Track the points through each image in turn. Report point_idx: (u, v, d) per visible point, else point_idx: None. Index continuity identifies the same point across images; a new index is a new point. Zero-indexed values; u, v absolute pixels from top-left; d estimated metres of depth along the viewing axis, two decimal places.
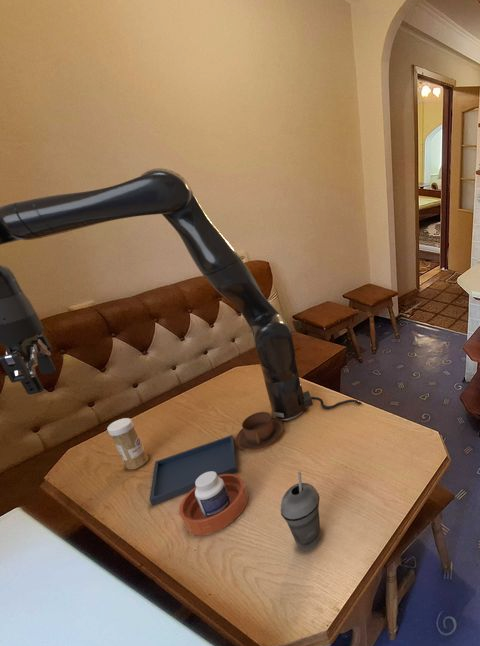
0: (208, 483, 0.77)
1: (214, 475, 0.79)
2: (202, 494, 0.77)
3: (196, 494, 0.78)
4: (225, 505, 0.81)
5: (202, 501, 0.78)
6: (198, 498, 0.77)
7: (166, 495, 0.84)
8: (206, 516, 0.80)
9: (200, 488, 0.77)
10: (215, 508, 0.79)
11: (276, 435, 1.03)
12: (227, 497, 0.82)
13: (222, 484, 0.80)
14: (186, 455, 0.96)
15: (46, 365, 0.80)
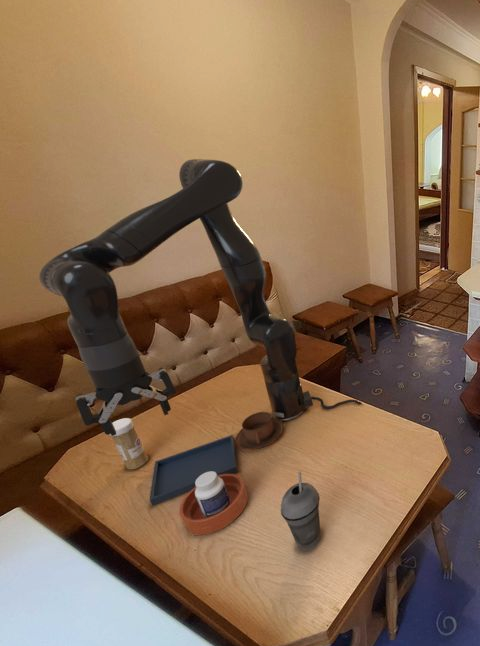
0: (208, 483, 0.77)
1: (214, 475, 0.79)
2: (202, 494, 0.77)
3: (196, 494, 0.78)
4: (225, 505, 0.81)
5: (202, 501, 0.78)
6: (198, 498, 0.77)
7: (166, 495, 0.84)
8: (206, 516, 0.80)
9: (200, 488, 0.77)
10: (215, 508, 0.79)
11: (276, 435, 1.03)
12: (227, 497, 0.82)
13: (222, 484, 0.80)
14: (186, 455, 0.96)
15: (161, 406, 0.78)
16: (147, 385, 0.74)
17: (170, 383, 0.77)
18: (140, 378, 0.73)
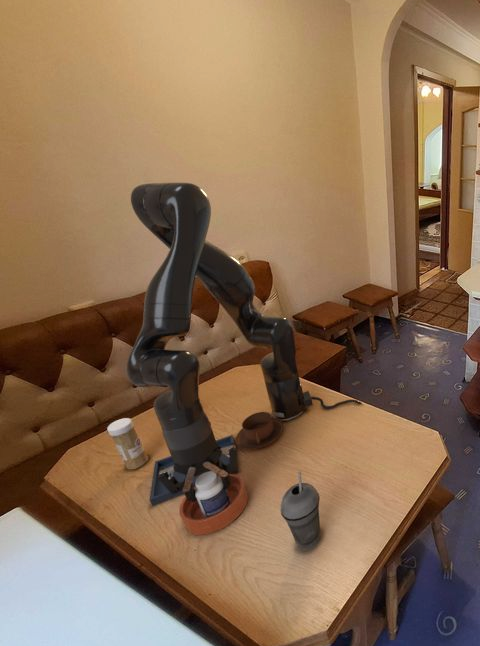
0: (208, 483, 0.77)
1: (214, 475, 0.79)
2: (202, 494, 0.77)
3: (196, 494, 0.78)
4: (225, 505, 0.81)
5: (202, 501, 0.78)
6: (198, 498, 0.77)
7: (166, 495, 0.84)
8: (206, 516, 0.80)
9: (200, 488, 0.77)
10: (215, 508, 0.79)
11: (276, 435, 1.03)
12: (227, 497, 0.82)
13: (222, 484, 0.80)
14: None
15: None
16: (217, 460, 0.78)
17: (235, 460, 0.80)
18: (211, 453, 0.76)
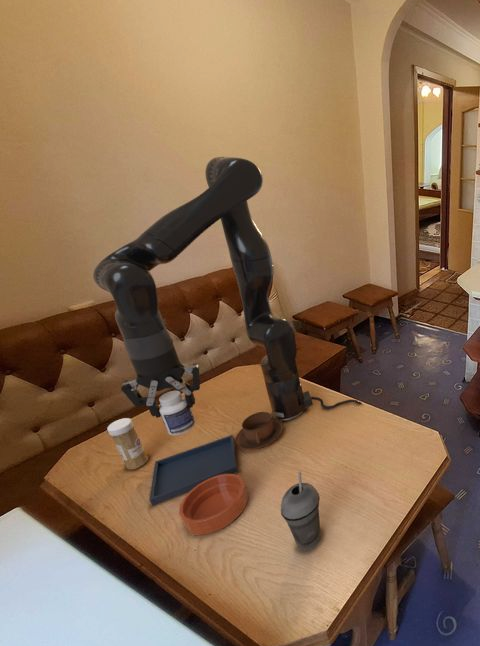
0: (172, 399, 0.81)
1: (178, 393, 0.83)
2: (166, 409, 0.81)
3: (160, 410, 0.81)
4: (189, 424, 0.85)
5: (166, 416, 0.81)
6: (162, 413, 0.81)
7: (166, 495, 0.84)
8: (170, 433, 0.83)
9: (163, 403, 0.81)
10: (179, 425, 0.83)
11: (276, 435, 1.03)
12: (191, 417, 0.86)
13: (186, 403, 0.84)
14: (186, 455, 0.96)
15: None
16: (180, 377, 0.81)
17: (197, 379, 0.83)
18: (174, 369, 0.80)
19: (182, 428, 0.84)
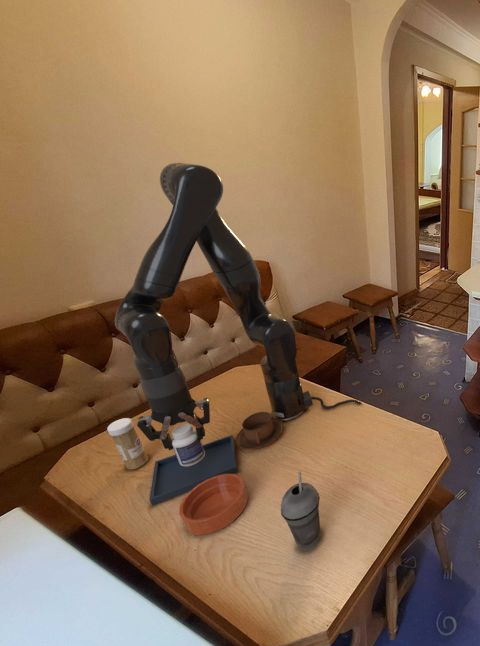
0: (183, 432, 0.86)
1: (189, 426, 0.88)
2: (178, 442, 0.86)
3: (172, 443, 0.86)
4: (199, 455, 0.90)
5: (178, 449, 0.86)
6: (174, 446, 0.86)
7: (166, 495, 0.84)
8: (182, 464, 0.88)
9: (176, 437, 0.85)
10: (190, 456, 0.88)
11: (276, 435, 1.03)
12: (201, 448, 0.91)
13: (197, 435, 0.89)
14: None
15: None
16: (191, 412, 0.86)
17: (208, 413, 0.88)
18: (186, 404, 0.85)
19: (193, 459, 0.88)
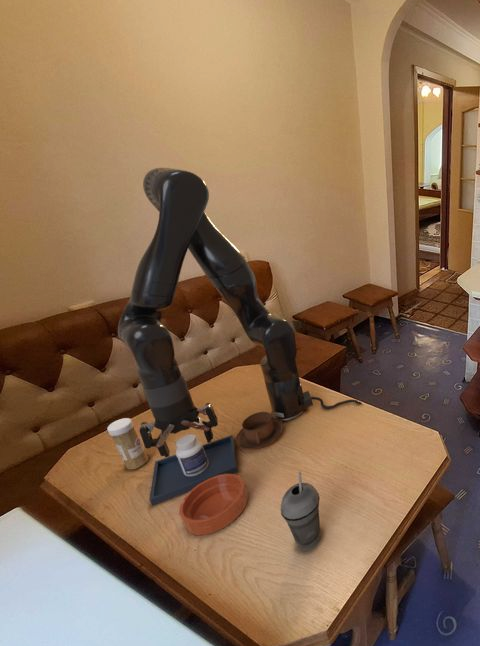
0: (188, 443, 0.87)
1: (193, 437, 0.89)
2: (182, 453, 0.87)
3: (177, 453, 0.87)
4: (203, 465, 0.91)
5: (182, 460, 0.87)
6: (178, 457, 0.87)
7: (166, 495, 0.84)
8: (186, 474, 0.89)
9: (180, 448, 0.87)
10: (194, 466, 0.89)
11: (276, 435, 1.03)
12: (205, 458, 0.92)
13: (200, 446, 0.90)
14: None
15: None
16: (194, 418, 0.87)
17: (213, 417, 0.89)
18: (189, 412, 0.86)
19: (197, 469, 0.90)
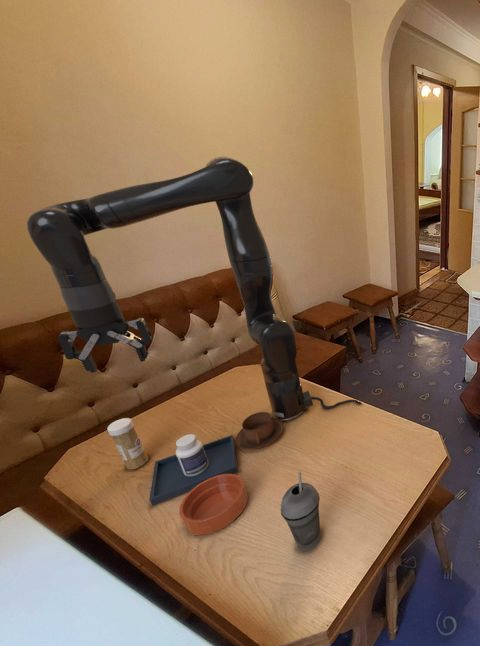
0: (188, 443, 0.87)
1: (193, 437, 0.89)
2: (182, 453, 0.87)
3: (177, 453, 0.87)
4: (203, 465, 0.91)
5: (182, 460, 0.87)
6: (178, 457, 0.87)
7: (166, 495, 0.84)
8: (186, 474, 0.89)
9: (180, 448, 0.87)
10: (194, 466, 0.89)
11: (276, 435, 1.03)
12: (205, 458, 0.92)
13: (200, 446, 0.90)
14: None
15: None
16: (123, 331, 0.81)
17: (145, 332, 0.83)
18: (117, 323, 0.79)
19: (197, 469, 0.90)
